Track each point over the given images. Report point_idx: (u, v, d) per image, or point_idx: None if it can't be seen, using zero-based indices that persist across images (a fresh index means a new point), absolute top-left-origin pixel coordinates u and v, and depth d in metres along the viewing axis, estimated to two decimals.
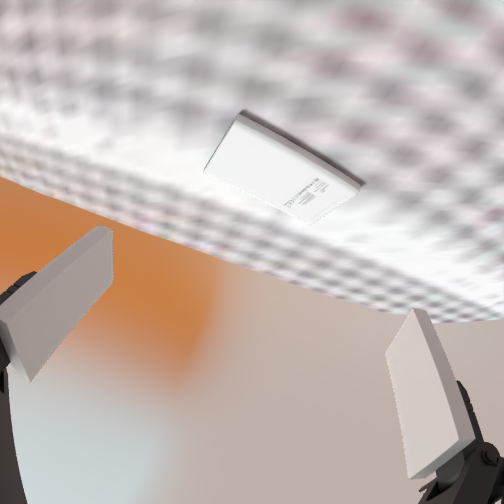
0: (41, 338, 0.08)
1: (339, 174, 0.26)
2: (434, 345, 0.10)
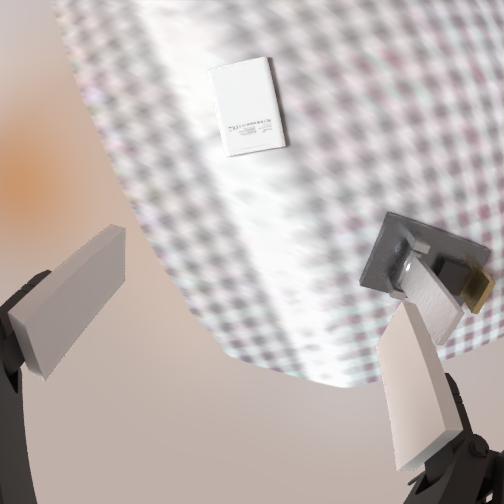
0: (56, 336, 0.09)
1: (282, 127, 0.39)
2: (423, 337, 0.10)
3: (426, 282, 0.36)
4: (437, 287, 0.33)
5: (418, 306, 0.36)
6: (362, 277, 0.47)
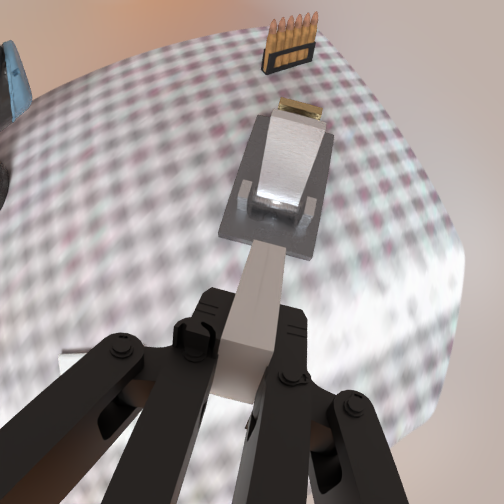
0: None
1: None
2: (272, 271, 0.12)
3: (271, 171, 0.33)
4: (266, 154, 0.31)
5: (302, 174, 0.32)
6: (302, 257, 0.40)
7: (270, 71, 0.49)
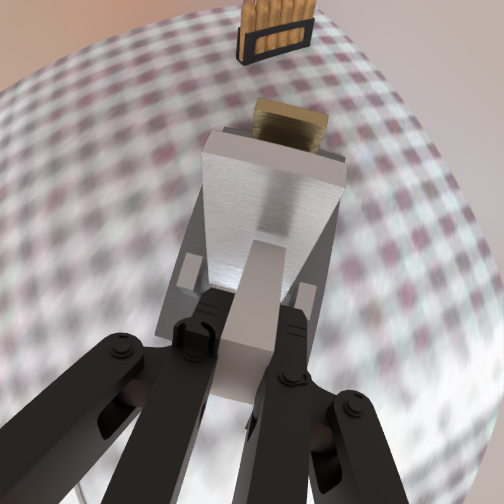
0: None
1: None
2: (272, 271, 0.12)
3: (227, 256, 0.17)
4: (209, 230, 0.15)
5: (288, 264, 0.16)
6: None
7: (249, 60, 0.33)
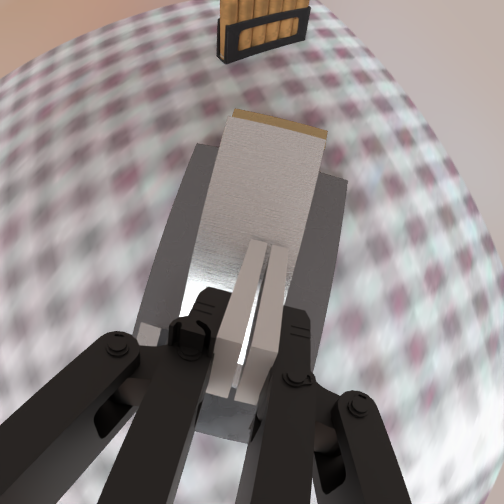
0: None
1: None
2: (275, 272, 0.12)
3: (213, 265, 0.16)
4: (206, 215, 0.15)
5: None
6: None
7: (232, 57, 0.28)
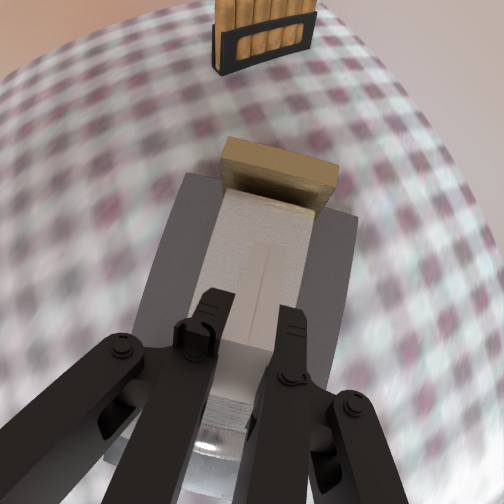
0: None
1: None
2: (272, 271, 0.12)
3: None
4: (203, 277, 0.16)
5: None
6: None
7: (228, 68, 0.25)
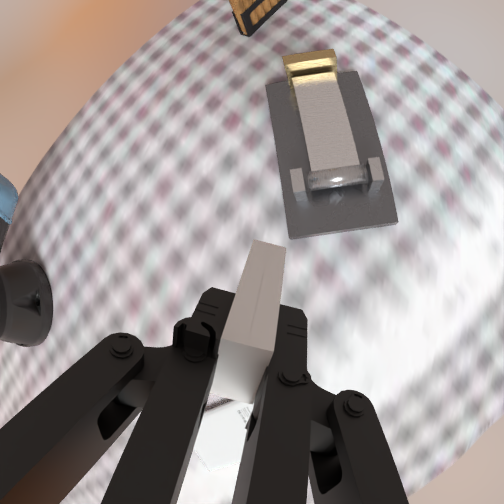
0: None
1: None
2: (272, 271, 0.12)
3: (314, 128, 0.31)
4: (301, 112, 0.32)
5: (341, 117, 0.30)
6: (387, 224, 0.32)
7: (251, 31, 0.39)
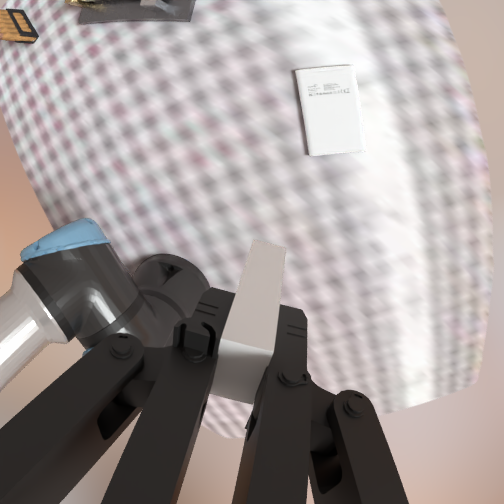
0: None
1: (298, 87, 0.38)
2: (272, 271, 0.12)
3: None
4: None
5: None
6: None
7: (35, 34, 0.36)
